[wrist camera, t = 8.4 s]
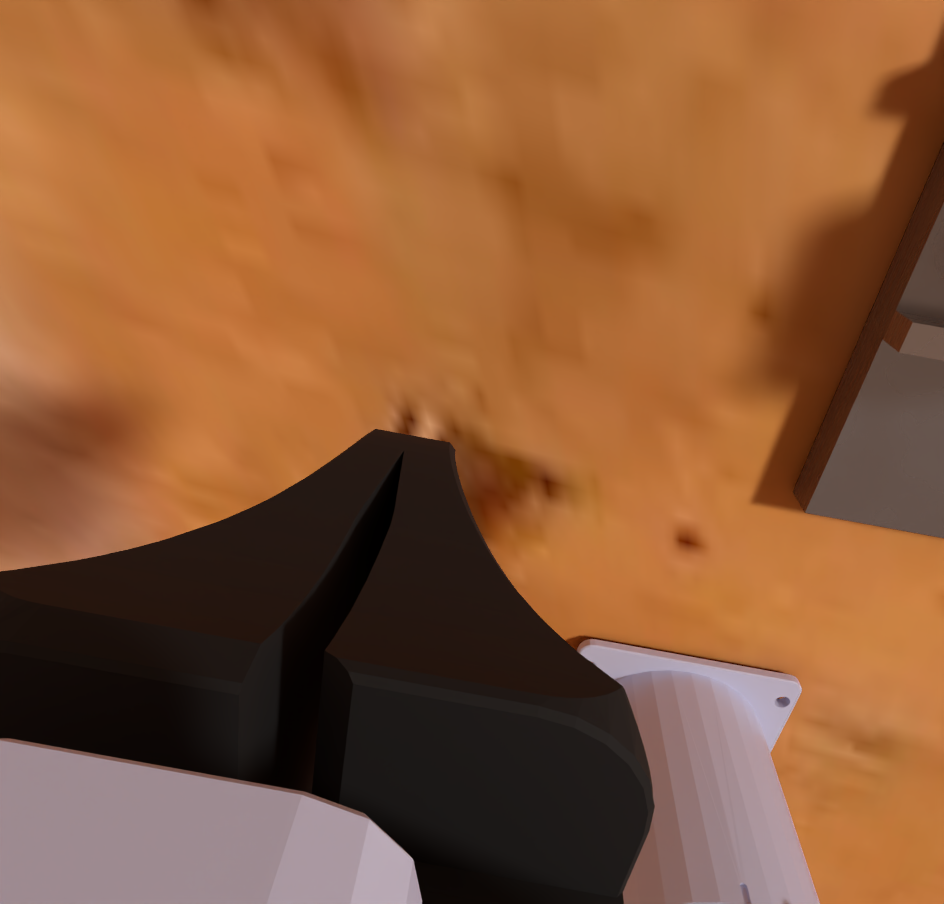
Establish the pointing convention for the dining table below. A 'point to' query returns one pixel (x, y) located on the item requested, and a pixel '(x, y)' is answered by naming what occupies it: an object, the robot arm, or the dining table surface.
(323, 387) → the dining table surface
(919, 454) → the base plate
